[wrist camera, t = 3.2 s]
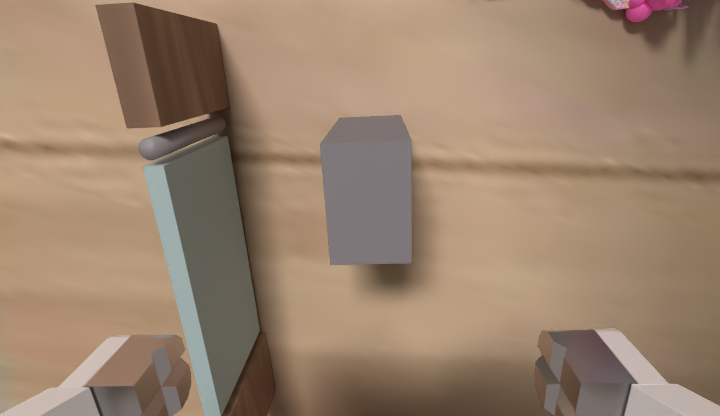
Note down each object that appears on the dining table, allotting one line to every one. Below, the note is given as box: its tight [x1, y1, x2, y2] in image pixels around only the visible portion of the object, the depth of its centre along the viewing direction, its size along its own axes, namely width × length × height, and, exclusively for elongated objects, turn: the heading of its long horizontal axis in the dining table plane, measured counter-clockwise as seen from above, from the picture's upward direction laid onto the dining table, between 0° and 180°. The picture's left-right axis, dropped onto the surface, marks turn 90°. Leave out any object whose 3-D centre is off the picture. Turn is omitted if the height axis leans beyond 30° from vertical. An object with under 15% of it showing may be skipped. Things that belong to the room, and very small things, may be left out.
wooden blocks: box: [96, 3, 275, 416], centre depth 25 cm, size 2×29×9 cm, turn 3°
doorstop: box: [320, 115, 412, 265], centre depth 22 cm, size 4×6×9 cm, turn 3°
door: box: [138, 116, 260, 416], centre depth 24 cm, size 1×17×8 cm, turn 3°
